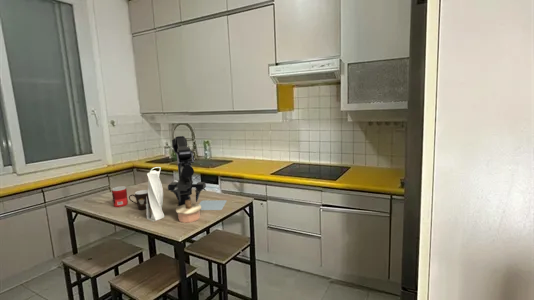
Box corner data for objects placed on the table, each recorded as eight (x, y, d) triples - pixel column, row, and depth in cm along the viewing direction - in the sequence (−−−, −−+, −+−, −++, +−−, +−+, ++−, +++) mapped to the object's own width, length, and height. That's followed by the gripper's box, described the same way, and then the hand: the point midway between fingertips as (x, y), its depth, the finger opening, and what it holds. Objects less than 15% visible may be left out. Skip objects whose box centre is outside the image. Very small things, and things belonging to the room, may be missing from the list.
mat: (193, 210, 167) (193, 209, 167) (201, 201, 183) (201, 200, 183) (221, 210, 166) (221, 209, 166) (227, 201, 182) (227, 200, 182)
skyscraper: (160, 214, 164) (155, 165, 160) (168, 217, 159) (164, 167, 154) (146, 219, 158) (141, 168, 153) (154, 222, 153) (149, 170, 148)
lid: (172, 214, 149) (171, 204, 149) (181, 205, 162) (180, 196, 161) (197, 214, 149) (196, 204, 148) (204, 205, 161) (203, 196, 161)
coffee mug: (155, 206, 176) (153, 190, 175) (144, 211, 168) (143, 194, 167) (139, 204, 180) (138, 189, 178) (129, 209, 172) (127, 193, 170)
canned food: (130, 203, 182) (128, 186, 180) (119, 208, 175) (117, 190, 173) (122, 202, 185) (120, 185, 184) (110, 206, 178) (108, 189, 176)
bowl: (175, 222, 151) (174, 213, 150) (182, 214, 162) (182, 205, 161) (196, 222, 150) (195, 213, 150) (202, 214, 161) (201, 205, 160)
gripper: (162, 177, 145) (164, 207, 147) (199, 176, 143) (201, 207, 146) (170, 171, 156) (173, 200, 158) (205, 171, 154) (207, 199, 157)
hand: (188, 201), depth 155 cm, fingers open, 9 cm apart
